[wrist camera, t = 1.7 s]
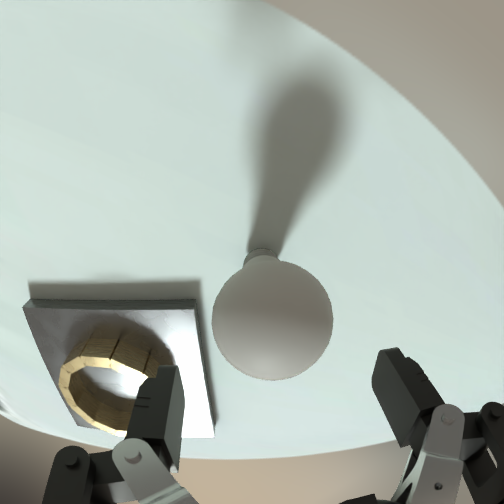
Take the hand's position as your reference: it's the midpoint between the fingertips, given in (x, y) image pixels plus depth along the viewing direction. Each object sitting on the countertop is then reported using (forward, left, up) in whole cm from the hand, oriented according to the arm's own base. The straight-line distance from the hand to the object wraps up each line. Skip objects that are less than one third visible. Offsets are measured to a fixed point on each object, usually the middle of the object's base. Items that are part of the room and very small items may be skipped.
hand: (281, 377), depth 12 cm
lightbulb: (0, 0, -13) cm, 13 cm away
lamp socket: (+13, +11, -12) cm, 21 cm away
